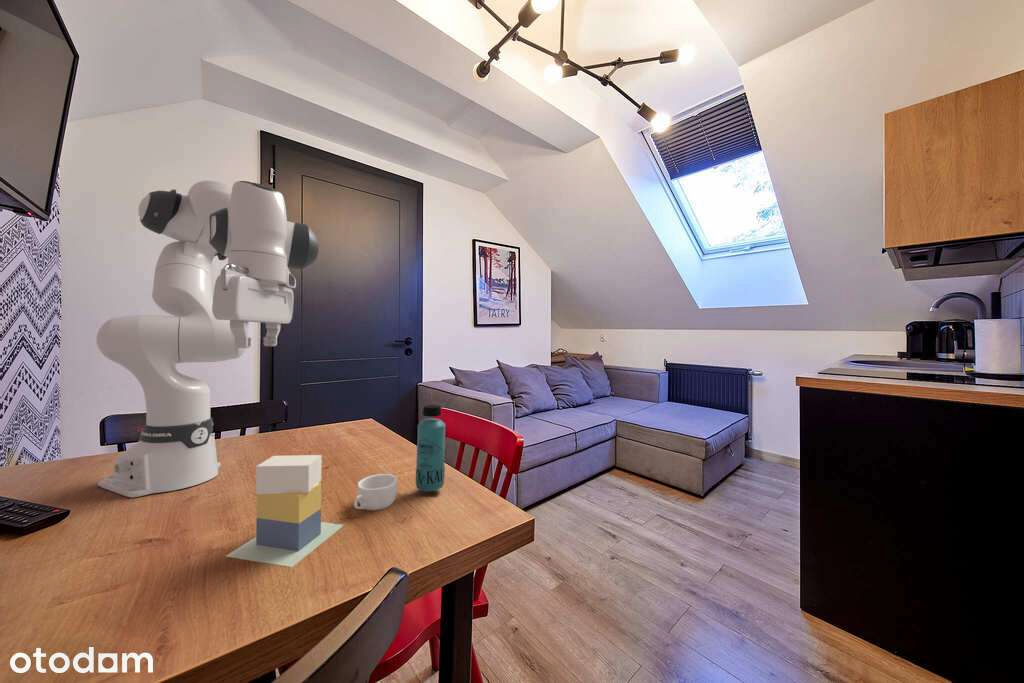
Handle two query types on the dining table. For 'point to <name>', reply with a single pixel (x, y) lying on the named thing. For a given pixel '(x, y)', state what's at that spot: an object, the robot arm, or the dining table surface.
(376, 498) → the teacup
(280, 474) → the cream brick
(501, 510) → the dining table surface
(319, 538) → the build plate
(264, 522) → the navy brick
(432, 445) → the beverage bottle
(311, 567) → the dining table surface
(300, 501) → the mustard brick
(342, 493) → the dining table surface
